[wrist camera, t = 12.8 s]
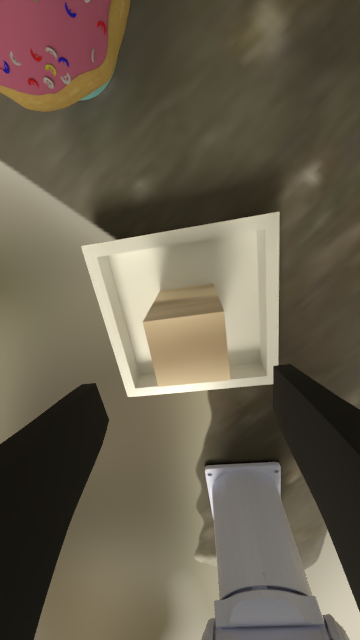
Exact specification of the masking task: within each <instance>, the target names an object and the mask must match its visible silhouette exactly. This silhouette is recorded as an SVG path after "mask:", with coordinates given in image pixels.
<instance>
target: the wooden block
mask: <svg viewBox="0 0 360 640" xmlns="http://www.w3.org/2000/svg"><path fill="white" fill-rule="evenodd" d="M143 326H144V330H145V334H146V338H147V342H148V346H149V350H150V355H151V359H152V363H153V367H154V371H155V375H156V379H157V383H158V387H165V386H175V385H186V384H196V383H207V382H217V381H228V380H230V370H229V359H228V348H227V337H226V326H225V315H224V310H223V307H222V304H221V302H220V299H219V297H218V294H217V291H216V289H215V286H214V284H213V283H212V284H205V285H198V286H191V287H184V288H177V289H170V290H163V291H160V292H159V293H158V295H157V297H156V299H155V301H154V302H153V304H152V306H151V308H150V310H149V311H148V313H147V315H146V317H145V319H144V320H143Z"/></svg>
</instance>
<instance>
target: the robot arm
mask: <svg viewBox="0 0 360 640" xmlns="http://www.w3.org/2000/svg"><path fill="white" fill-rule="evenodd" d="M273 408H274V411H275V414H276V417H277V420H278V422H279V425H280V428H281V431H282V433H283V436H284V438H285V440H286V442H287V444H288V446H289V448H290V450H291V452H292V454H293V456H294V458H295V460H296V462H297V465H298V467H299V469H300V471H301V473H302V475H303V477H304V479H305V481H306V483H307V485H308V487H309V489H310V491H311V493H312V495H313V497H314V499H315V501H316V503H317V506H318V508H319V510H320V512H321V515H322V517H323V519H324V521H325V524H326V526H327V529H328V531H329V534H330V536H331V539H332V541H333V544H334V546H335V549H336V551H337V554H338V557H339V559H340V562H341V564H342V566H343V569H344V572H345V575H346V577H347V580H348V582H349V585H350V588H351V590H352V593H353V595H354V598H355V601H356V603H357V606H358V609H359V611H360V410H359V409H358V408H356V407H354V406H353V405H351V404H350V403H348V402H346V401H345V400H343V399H342V398H340V397H338V396H337V395H335V394H334V393H332V392H331V391H329V390H328V389H326V388H325V387H323V386H322V385H320V384H319V383H317V382H316V381H314V380H313V379H311V378H310V377H308V376H307V375H305V374H304V373H302V372H301V371H300V370H298V369H297V368H295V367H294V366H292V365H290V364H288V365H277V366H273ZM108 422H109V418H108V416H107V413H106V411H105V408H104V405H103V402H102V400H101V397H100V394H99V391H98V388H97V386H96V383H93V384H82V385H80V386H79V387H77V388H76V389H75V390H73V391H72V392H70V393H69V394H68V395H66V396H65V397H63V398H62V399H61V400H59V401H58V402H57V403H56V404H54V405H53V406H52V407H50V408H49V409H48V410H46V411H45V412H44V413H42V414H41V415H40V416H38V417H37V418H36V419H34V420H33V421H32V422H30V423H29V424H28V425H26V426H25V427H24V428H22V429H21V430H19V431H18V432H17V433H15V434H14V435H13V436H11V437H10V438H8V439H7V440H6V441H4V442H3V443H1V444H0V640H34V636H35V633H36V629H37V626H38V622H39V619H40V615H41V612H42V608H43V605H44V602H45V598H46V595H47V592H48V589H49V585H50V582H51V579H52V576H53V572H54V569H55V566H56V562H57V560H58V557H59V554H60V551H61V548H62V545H63V542H64V539H65V536H66V533H67V530H68V527H69V524H70V521H71V519H72V516H73V513H74V511H75V508H76V506H77V504H78V501H79V499H80V497H81V494H82V492H83V490H84V487H85V485H86V482H87V480H88V478H89V475H90V473H91V471H92V468H93V466H94V463H95V461H96V459H97V456H98V454H99V451H100V449H101V446H102V444H103V440H104V437H105V434H106V430H107V426H108ZM205 475H206V481H207V486H208V492H209V498H210V503H211V509H212V515H213V518H214V528H215V542H216V556H217V569H218V584H219V597H220V600H217V601H214V606H215V618H211V619H209V620H208V623H207V625H206V629H205V631H204V633H203V636H202V639H201V640H349V638H348V636H347V634H346V632H345V630H344V629H343V628H342V627H341V626H340V625H339V624H338V623H337V622H336V621H335V620H334V618H333V617H332V616H331V615H330V614H327V615H323V618H322V615H321V612H320V609H319V606H318V603H317V600H316V597H315V596H312V593H311V590H310V587H309V584H308V581H307V578H306V575H305V571H304V568H303V565H302V562H301V559H300V556H299V553H298V550H297V547H296V544H295V541H294V538H293V535H292V532H291V529H290V526H289V522H288V519H287V516H286V513H285V510H284V507H283V504H282V501H281V498H280V497H281V466H280V464H279V463H278V462H263V463H243V464H224V465H208V466H206V467H205ZM323 619H324V621H323Z"/></svg>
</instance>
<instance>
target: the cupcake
mask: <svg viewBox="0 0 360 640" xmlns="http://www.w3.org/2000/svg"><path fill="white" fill-rule="evenodd" d="M130 3H131V0H0V92H1V93H3V94H4V95H6V96H8V97H9V98H11V99H13V100H14V101H16V102H17V103H18V104H20V105H21V106H23V107H25V108H27V109H30V110H35V111H43V112H48V111H54V110H58V109H62V108H66V107H68V106H70V105H72V104H74V103H76V102H77V101H79V100H88V99H91V98H94V97H96V96H97V95H99V94H100V93H101V92H102V91H103V90H104V89H105V88H106V87H107V85H108V84H109V82H110V80H111V78H112V76H113V74H114V71H115V68H116V63H117V57H118V53H119V50H120V46H121V43H122V40H123V36H124V32H125V28H126V23H127V18H128V13H129V8H130Z"/></svg>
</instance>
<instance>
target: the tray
mask: <svg viewBox="0 0 360 640" xmlns="http://www.w3.org/2000/svg"><path fill="white" fill-rule="evenodd" d="M279 214H280V212H274V213H268V214H263V215H257V216H251V217H246V218H240V219H234V220H228V221H223V222H217V223H211V224H206V225H200V226H194V227H188V228H183V229H177V230H171V231H166V232H160V233H154V234H148V235H143V236H137V237H131V238H126V239H120V240H114V241H108V242H103V243H97V244H91V245H86V246H81V248H82V251H83V254H84V257H85V261H86V264H87V267H88V270H89V273H90V277H91V280H92V283H93V287H94V290H95V293H96V296H97V299H98V303H99V306H100V309H101V312H102V315H103V319H104V322H105V325H106V328H107V331H108V335H109V338H110V341H111V344H112V347H113V350H114V354H115V357H116V360H117V363H118V367H119V370H120V373H121V376H122V379H123V383H124V386H125V389H126V392H127V395H128V397H134V396H146V395H158V394H167V393H180V392H190V391H202V390H213V389H224V388H235V387H246V386H257V385H268V384H273V366H277V365H278V344H279ZM212 283H213V284H214V286H215V289H216V291H217V294H218V297H219V299H220V302H221V304H222V307H223V310H224V315H225V326H226V337H227V348H228V359H229V370H230V380H228V381H217V382H207V383H196V384H186V385H175V386H165V387H158V383H157V379H156V375H155V371H154V367H153V363H152V359H151V355H150V350H149V346H148V342H147V338H146V334H145V330H144V326H143V320H144V319H145V317H146V315H147V313H148V311H149V310H150V308H151V306H152V304H153V302H154V301H155V299H156V297H157V295H158V293H159V292H160V291H163V290H170V289H177V288H184V287H191V286H198V285H205V284H212Z"/></svg>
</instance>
